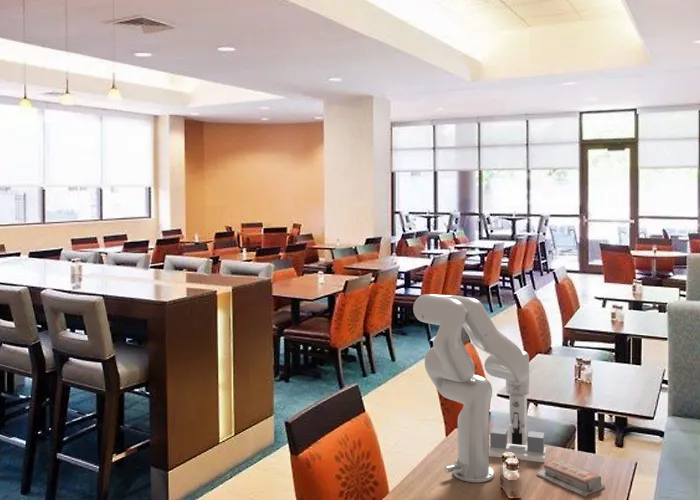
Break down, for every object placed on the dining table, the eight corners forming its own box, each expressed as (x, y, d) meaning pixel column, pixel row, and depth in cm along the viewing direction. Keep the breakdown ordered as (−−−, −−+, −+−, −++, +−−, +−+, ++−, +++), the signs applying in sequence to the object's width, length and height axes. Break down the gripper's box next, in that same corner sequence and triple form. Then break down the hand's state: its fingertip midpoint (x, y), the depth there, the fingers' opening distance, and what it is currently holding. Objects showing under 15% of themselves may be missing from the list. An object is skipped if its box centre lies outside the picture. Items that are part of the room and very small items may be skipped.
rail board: (488, 455, 220) (488, 434, 219) (491, 445, 228) (491, 425, 228) (544, 462, 214) (544, 440, 213) (546, 451, 222) (546, 430, 222)
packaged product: (606, 473, 195) (585, 482, 190) (606, 489, 196) (584, 498, 190) (557, 453, 210) (535, 461, 205) (556, 468, 211) (535, 476, 205)
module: (509, 443, 220) (509, 424, 219) (511, 438, 224) (510, 419, 224) (525, 445, 218) (524, 426, 217) (526, 439, 223) (526, 420, 222)
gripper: (526, 397, 210) (527, 452, 212) (531, 381, 226) (531, 432, 228) (502, 395, 212) (503, 449, 214) (508, 379, 228) (509, 430, 230)
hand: (518, 440), depth 221 cm, fingers closed on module, 5 cm apart
